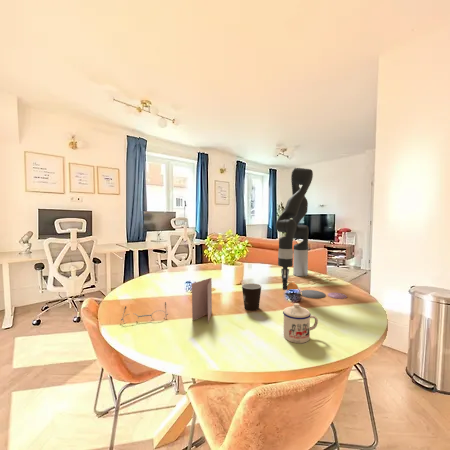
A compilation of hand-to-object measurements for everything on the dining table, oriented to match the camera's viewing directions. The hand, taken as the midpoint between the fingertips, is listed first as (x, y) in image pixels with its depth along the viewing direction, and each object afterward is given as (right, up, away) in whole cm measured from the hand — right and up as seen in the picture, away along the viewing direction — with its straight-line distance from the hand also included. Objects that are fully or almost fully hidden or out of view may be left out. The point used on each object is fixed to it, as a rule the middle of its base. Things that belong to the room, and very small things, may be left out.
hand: (284, 289), depth 137 cm
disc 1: (+13, -2, -3) cm, 14 cm away
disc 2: (+25, -2, -6) cm, 26 cm away
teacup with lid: (-6, -5, -48) cm, 48 cm away
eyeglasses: (-66, -5, -25) cm, 71 cm away
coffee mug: (-19, -3, -20) cm, 28 cm away
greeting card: (-39, -4, -31) cm, 50 cm away
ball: (+4, +1, -1) cm, 4 cm away
